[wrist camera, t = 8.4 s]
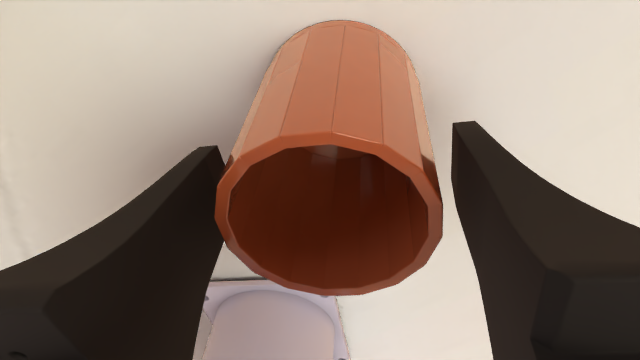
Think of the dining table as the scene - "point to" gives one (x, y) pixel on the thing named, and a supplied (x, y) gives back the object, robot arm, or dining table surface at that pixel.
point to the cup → (333, 167)
